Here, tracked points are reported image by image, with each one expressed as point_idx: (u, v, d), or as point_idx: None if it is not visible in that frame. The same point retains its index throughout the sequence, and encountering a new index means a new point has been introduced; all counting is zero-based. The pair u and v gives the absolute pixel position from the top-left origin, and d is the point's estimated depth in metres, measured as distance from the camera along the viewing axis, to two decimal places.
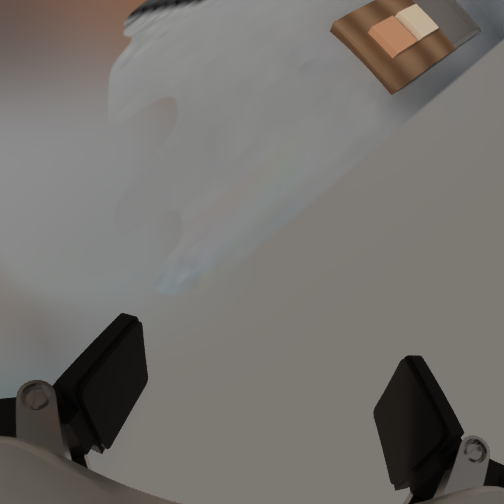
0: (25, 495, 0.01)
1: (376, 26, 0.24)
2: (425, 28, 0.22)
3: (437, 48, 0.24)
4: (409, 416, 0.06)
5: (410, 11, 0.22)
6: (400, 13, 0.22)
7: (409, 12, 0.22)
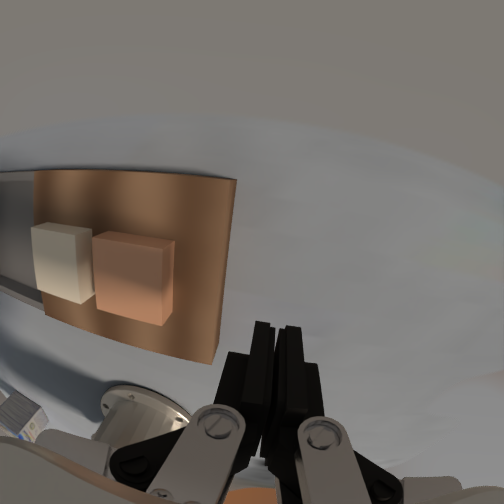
0: (25, 495, 0.01)
1: (151, 319, 0.16)
2: (55, 244, 0.15)
3: (65, 192, 0.16)
4: (273, 384, 0.08)
5: (57, 287, 0.16)
6: (79, 299, 0.16)
7: (60, 288, 0.16)
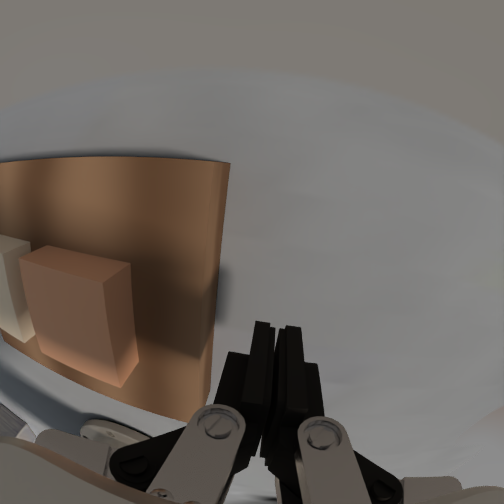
0: (25, 495, 0.01)
1: (105, 378, 0.10)
2: None
3: (1, 192, 0.10)
4: (272, 385, 0.08)
5: None
6: (21, 337, 0.10)
7: (2, 319, 0.10)
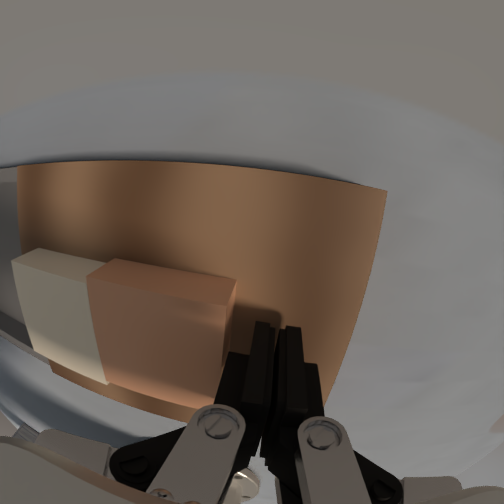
0: (25, 495, 0.01)
1: (198, 404, 0.09)
2: (53, 294, 0.09)
3: (66, 199, 0.10)
4: (273, 385, 0.08)
5: (65, 356, 0.10)
6: (103, 378, 0.10)
7: (70, 358, 0.10)
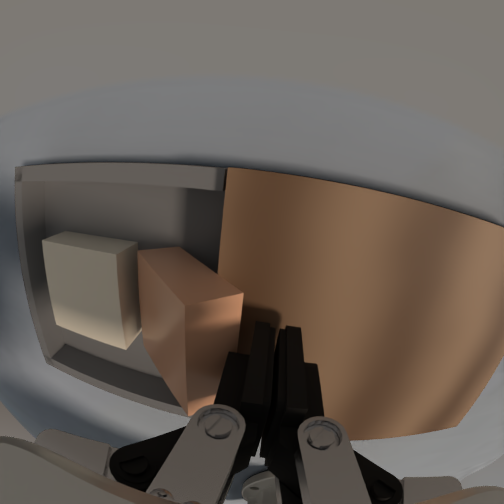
0: (25, 495, 0.01)
1: (179, 399, 0.09)
2: None
3: (346, 233, 0.09)
4: (272, 384, 0.08)
5: None
6: None
7: None
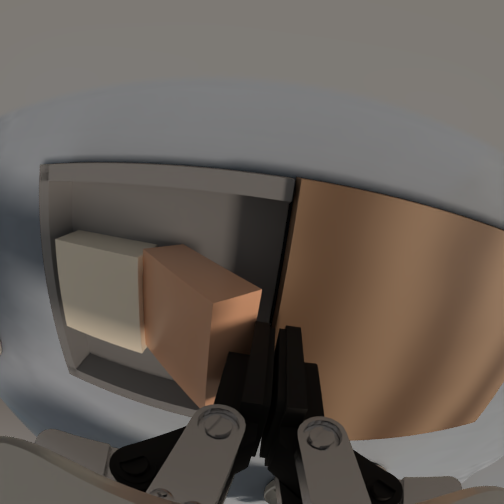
0: (25, 495, 0.01)
1: (193, 396, 0.10)
2: None
3: (404, 246, 0.09)
4: (272, 385, 0.08)
5: None
6: None
7: None
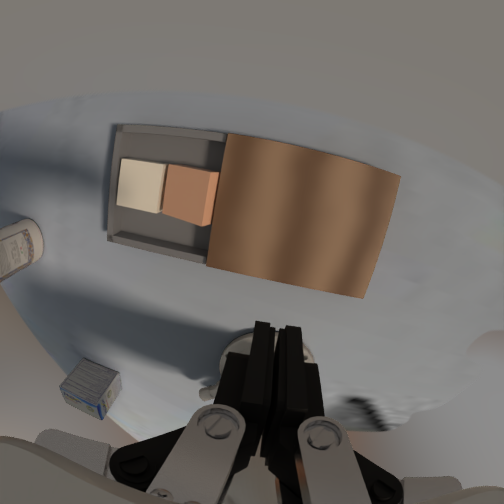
0: (25, 495, 0.01)
1: (195, 221, 0.25)
2: None
3: (270, 158, 0.23)
4: (272, 385, 0.08)
5: None
6: None
7: None
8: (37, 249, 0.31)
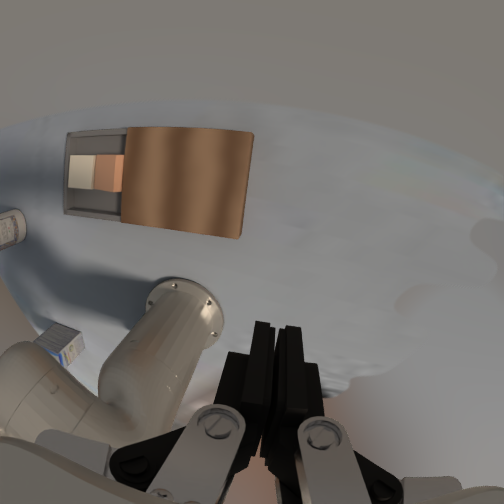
0: (25, 495, 0.01)
1: (110, 189, 0.33)
2: None
3: (153, 139, 0.31)
4: (272, 385, 0.08)
5: None
6: None
7: None
8: (21, 230, 0.39)
